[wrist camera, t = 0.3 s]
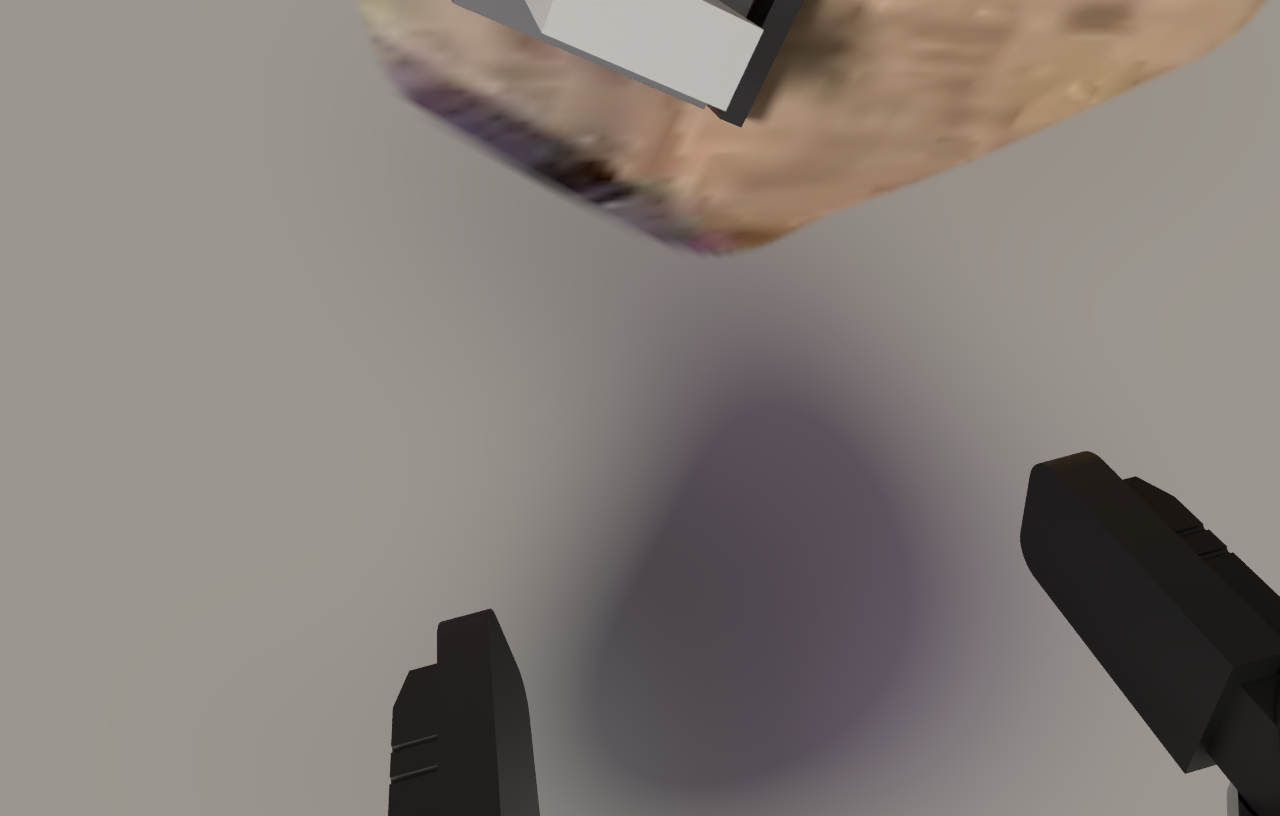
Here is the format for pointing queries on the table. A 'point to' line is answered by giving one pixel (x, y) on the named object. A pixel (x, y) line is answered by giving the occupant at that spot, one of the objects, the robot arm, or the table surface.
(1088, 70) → the table surface
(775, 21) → the lane rails
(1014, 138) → the table surface
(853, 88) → the table surface
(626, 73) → the pull strip
